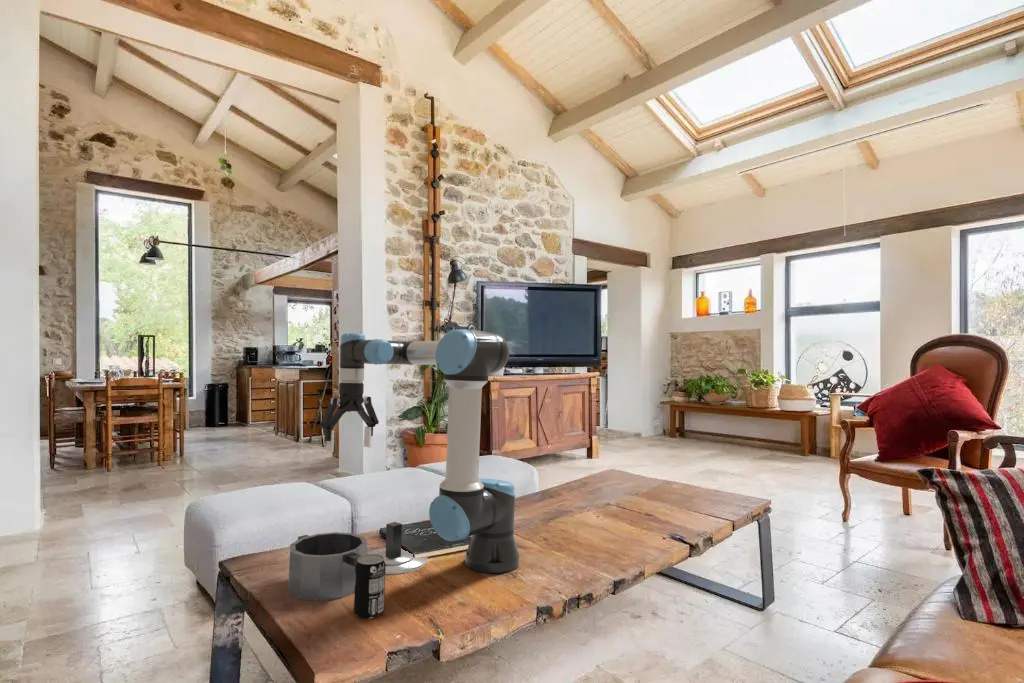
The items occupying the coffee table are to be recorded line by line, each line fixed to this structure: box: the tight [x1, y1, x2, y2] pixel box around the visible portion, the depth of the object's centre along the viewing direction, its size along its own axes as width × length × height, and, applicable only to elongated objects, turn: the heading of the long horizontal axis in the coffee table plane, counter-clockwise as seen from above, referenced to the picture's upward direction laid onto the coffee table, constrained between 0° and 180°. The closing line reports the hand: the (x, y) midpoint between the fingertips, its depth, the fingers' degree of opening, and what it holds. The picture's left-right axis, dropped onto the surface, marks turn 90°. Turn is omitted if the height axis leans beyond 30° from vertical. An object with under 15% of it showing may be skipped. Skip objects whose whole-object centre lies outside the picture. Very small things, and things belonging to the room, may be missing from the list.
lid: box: [367, 521, 428, 576], centre depth 152 cm, size 19×19×11 cm
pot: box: [287, 531, 368, 602], centre depth 135 cm, size 24×18×10 cm
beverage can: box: [353, 554, 386, 620], centre depth 121 cm, size 7×7×12 cm
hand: (349, 449), depth 171 cm, fingers open, 13 cm apart
